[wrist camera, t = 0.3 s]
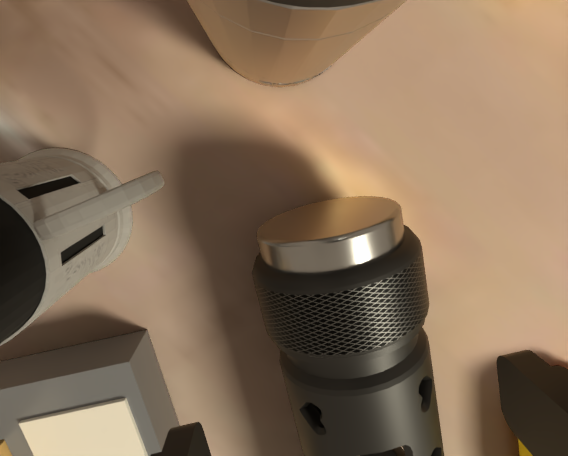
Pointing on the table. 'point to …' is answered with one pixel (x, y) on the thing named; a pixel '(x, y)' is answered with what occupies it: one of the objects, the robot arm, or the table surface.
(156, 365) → the block
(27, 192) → the white pitcher
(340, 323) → the muzzle brake
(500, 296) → the table surface
